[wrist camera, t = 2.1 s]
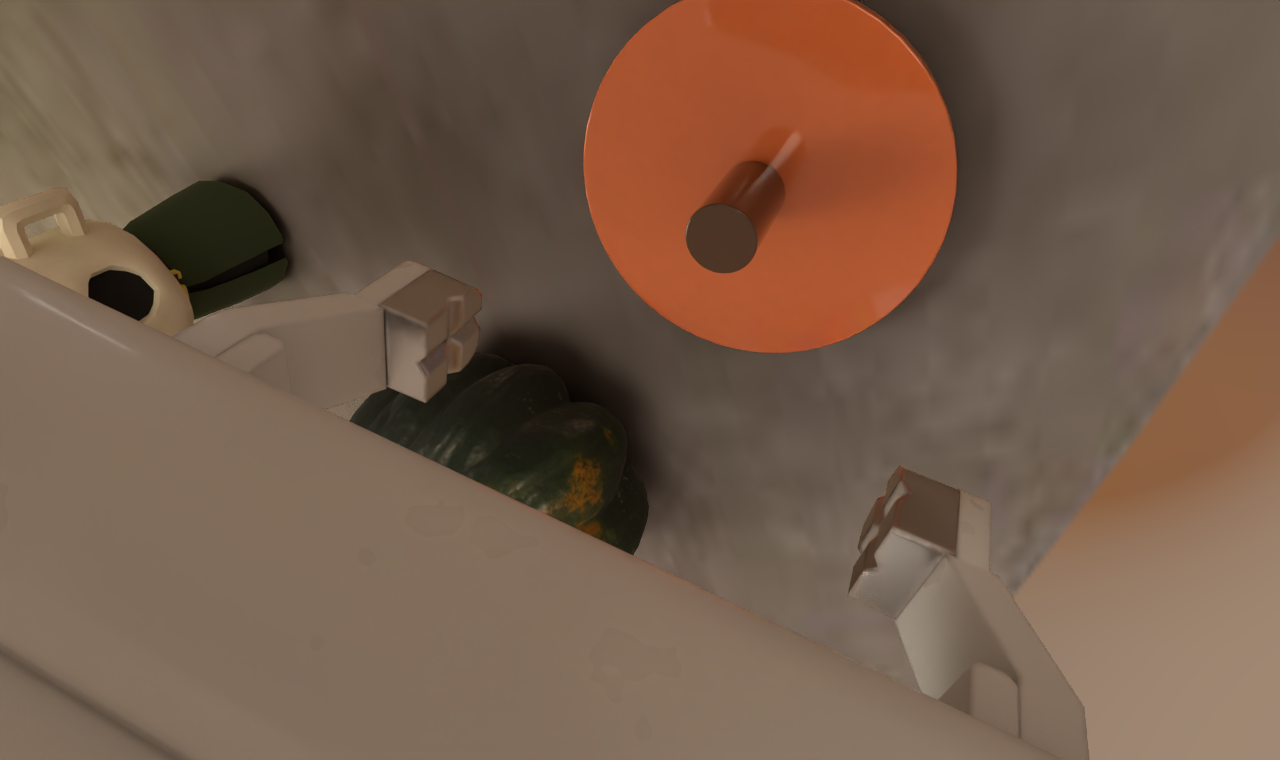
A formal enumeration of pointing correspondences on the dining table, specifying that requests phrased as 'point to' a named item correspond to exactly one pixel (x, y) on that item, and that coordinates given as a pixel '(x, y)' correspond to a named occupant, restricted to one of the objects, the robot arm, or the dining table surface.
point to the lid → (770, 169)
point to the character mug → (152, 252)
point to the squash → (523, 444)
